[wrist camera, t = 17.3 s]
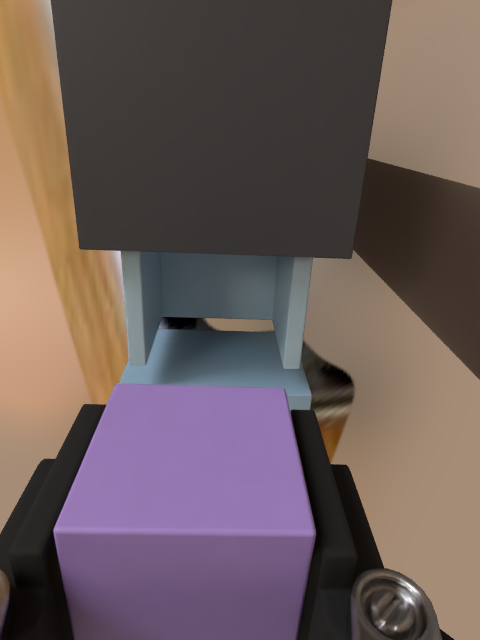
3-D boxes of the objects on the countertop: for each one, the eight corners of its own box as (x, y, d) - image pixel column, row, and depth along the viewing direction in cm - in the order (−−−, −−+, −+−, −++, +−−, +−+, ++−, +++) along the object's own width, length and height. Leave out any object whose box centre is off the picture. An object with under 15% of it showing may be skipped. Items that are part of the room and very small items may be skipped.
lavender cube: (271, 508, 12) (291, 680, 8) (125, 506, 12) (79, 681, 8) (285, 386, 10) (318, 534, 7) (114, 382, 10) (50, 531, 6)
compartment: (312, 215, 25) (352, 259, 17) (126, 208, 24) (79, 249, 17) (341, -38, 20) (414, -140, 12) (109, -53, 19) (31, -169, 12)
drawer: (284, 412, 29) (299, 489, 23) (145, 409, 29) (123, 487, 23) (309, 176, 23) (339, 197, 17) (131, 169, 23) (96, 187, 16)
